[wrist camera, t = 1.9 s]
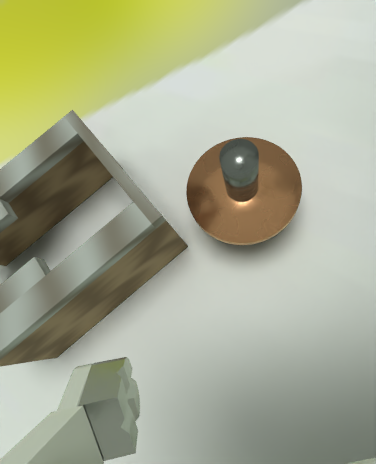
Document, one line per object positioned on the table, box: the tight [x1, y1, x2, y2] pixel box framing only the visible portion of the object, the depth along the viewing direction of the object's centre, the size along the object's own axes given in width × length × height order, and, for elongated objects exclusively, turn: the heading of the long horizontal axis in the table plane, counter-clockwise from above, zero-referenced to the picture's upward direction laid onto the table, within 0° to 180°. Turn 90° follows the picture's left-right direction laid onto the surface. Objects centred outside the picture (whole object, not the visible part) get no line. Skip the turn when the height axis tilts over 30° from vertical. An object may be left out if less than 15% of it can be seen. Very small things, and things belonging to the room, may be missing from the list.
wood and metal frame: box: [0, 110, 188, 366], centre depth 31 cm, size 18×14×10 cm
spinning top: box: [187, 137, 302, 245], centre depth 28 cm, size 10×10×12 cm
